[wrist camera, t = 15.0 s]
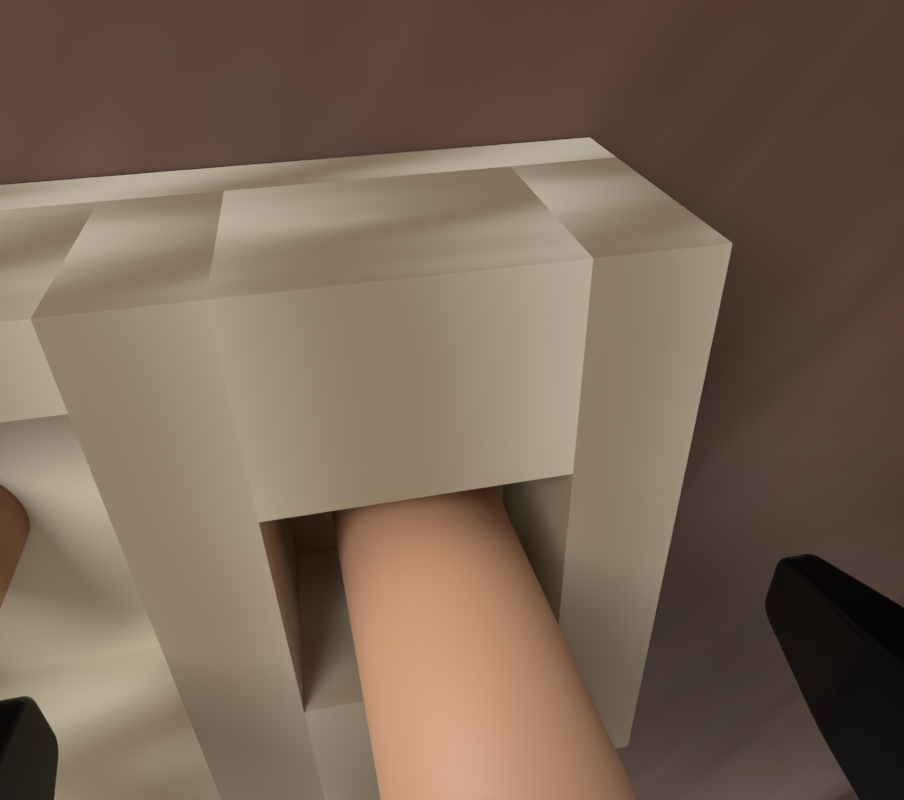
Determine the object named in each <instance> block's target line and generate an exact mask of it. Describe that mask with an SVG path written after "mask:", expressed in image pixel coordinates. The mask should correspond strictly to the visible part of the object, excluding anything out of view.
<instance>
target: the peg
mask: <svg viewBox="0 0 904 800" xmlns="http://www.w3.org/2000/svg"><path fill="white" fill-rule="evenodd" d="M331 513H332V518H333V524H334V530H335V536H336V542H337V548H338V553H339V559H340V565H341V571H342V577H343V583H344V588H345V594H346V600H347V606H348V612H349V618H350V623H351V629H352V635H353V641H354V647H355V653H356V658H357V664H358V670H359V676H360V682H361V688H362V693H363V699H364V705H365V711H366V717H367V723H368V728H369V734H370V740H371V746H372V752H373V758H374V763H375V769H376V775H377V781H378V787H379V793H380V798H381V800H639V799H638V797H637V795H636V793H635V790H634V788H633V786H632V784H631V782H630V780H629V777H628V775H627V773H626V771H625V769H624V767H623V764H622V762H621V760H620V758H619V756H618V754H617V751H616V749H615V747H614V745H613V743H612V740H611V738H610V736H609V734H608V732H607V730H606V727H605V725H604V723H603V721H602V719H601V717H600V714H599V712H598V710H597V708H596V706H595V704H594V701H593V699H592V697H591V695H590V693H589V691H588V688H587V686H586V684H585V682H584V680H583V677H582V675H581V673H580V671H579V669H578V667H577V664H576V662H575V660H574V658H573V656H572V654H571V651H570V649H569V647H568V645H567V643H566V641H565V638H564V636H563V634H562V632H561V630H560V627H559V625H558V623H557V621H556V619H555V617H554V614H553V612H552V610H551V608H550V606H549V604H548V601H547V599H546V597H545V595H544V593H543V591H542V588H541V586H540V584H539V582H538V580H537V578H536V575H535V573H534V571H533V569H532V567H531V564H530V562H529V560H528V558H527V556H526V554H525V551H524V549H523V547H522V545H521V543H520V541H519V538H518V536H517V534H516V532H515V530H514V528H513V525H512V523H511V521H510V519H509V517H508V514H507V512H506V510H505V508H504V506H503V504H502V501H501V499H500V497H499V495H498V493H497V491H496V488H495V486H491V487H485V488H478V489H472V490H465V491H459V492H452V493H446V494H439V495H433V496H426V497H420V498H413V499H407V500H400V501H394V502H387V503H381V504H375V505H368V506H362V507H355V508H349V509H342V510H336V511H331Z"/></svg>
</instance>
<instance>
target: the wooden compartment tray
mask: <svg viewBox="0 0 904 800" xmlns="http://www.w3.org/2000/svg"><path fill="white" fill-rule="evenodd" d="M732 244H733V243H732V242H730V241H729V240H728V239H726V238H725V237H723V236H722V235H721V234H719V233H718V232H717V231H715V230H714V229H713V228H711V227H710V226H709V225H707V224H706V223H705V222H703V221H702V220H700V219H699V218H698V217H696V216H695V215H694V214H692V213H691V212H690V211H688V210H687V209H686V208H684V207H683V206H682V205H680V204H679V203H678V202H676V201H675V200H673V199H672V198H671V197H669V196H668V195H667V194H665V193H664V192H663V191H661V190H660V189H659V188H657V187H656V186H655V185H653V184H652V183H651V182H649V181H648V180H646V179H645V178H644V177H642V176H641V175H640V174H638V173H637V172H636V171H634V170H633V169H632V168H630V167H629V166H628V165H626V164H625V163H624V162H622V161H621V160H619V159H618V158H617V157H615V156H614V155H613V154H611V153H610V152H609V151H607V150H606V149H605V148H603V147H602V146H601V145H599V144H598V143H597V142H595V141H594V140H592V139H591V138H590V137H589V138H577V139H565V140H552V141H540V142H528V143H515V144H503V145H490V146H478V147H466V148H453V149H441V150H429V151H416V152H404V153H391V154H379V155H367V156H354V157H342V158H330V159H317V160H305V161H292V162H280V163H268V164H255V165H243V166H231V167H218V168H206V169H194V170H181V171H169V172H156V173H144V174H132V175H119V176H107V177H95V178H82V179H70V180H57V181H45V182H33V183H20V184H8V185H0V700H5V699H10V698H16V697H21V696H28V697H31V698H33V699H34V700H35V702H36V703H37V705H38V706H39V708H40V710H41V711H42V713H43V715H44V716H45V718H46V720H47V721H48V723H49V725H50V726H51V728H52V730H53V731H54V733H55V735H56V738H57V742H58V750H59V756H58V767H57V777H56V786H55V796H54V800H381V798H380V793H379V787H378V781H377V775H376V769H375V763H374V758H373V752H372V746H371V740H370V734H369V728H368V723H367V717H366V711H365V705H364V699H363V693H362V688H361V682H360V676H359V670H358V664H357V658H356V653H355V647H354V641H353V635H352V629H351V623H350V618H349V612H348V606H347V600H346V594H345V588H344V583H343V577H342V571H341V565H340V559H339V553H338V548H337V542H336V536H335V530H334V524H333V518H332V513H331V511H336V510H342V509H349V508H355V507H362V506H368V505H375V504H381V503H387V502H394V501H400V500H407V499H413V498H420V497H426V496H433V495H439V494H446V493H452V492H459V491H465V490H472V489H478V488H485V487H491V486H495V488H496V491H497V493H498V495H499V497H500V499H501V501H502V504H503V506H504V508H505V510H506V512H507V514H508V517H509V519H510V521H511V523H512V525H513V528H514V530H515V532H516V534H517V536H518V538H519V541H520V543H521V545H522V547H523V549H524V551H525V554H526V556H527V558H528V560H529V562H530V564H531V567H532V569H533V571H534V573H535V575H536V578H537V580H538V582H539V584H540V586H541V588H542V591H543V593H544V595H545V597H546V599H547V601H548V604H549V606H550V608H551V610H552V612H553V614H554V617H555V619H556V621H557V623H558V625H559V627H560V630H561V632H562V634H563V636H564V638H565V641H566V643H567V645H568V647H569V649H570V651H571V654H572V656H573V658H574V660H575V662H576V664H577V667H578V669H579V671H580V673H581V675H582V677H583V680H584V682H585V684H586V686H587V688H588V691H589V693H590V695H591V697H592V699H593V701H594V704H595V706H596V708H597V710H598V712H599V714H600V717H601V719H602V721H603V723H604V725H605V727H606V730H607V732H608V734H609V736H610V738H611V740H612V743H613V745H614V747H615V749H617V748H621V747H626V746H628V743H629V738H630V733H631V729H632V724H633V719H634V714H635V709H636V705H637V700H638V695H639V690H640V685H641V681H642V676H643V671H644V666H645V661H646V657H647V652H648V647H649V642H650V637H651V633H652V628H653V623H654V618H655V614H656V609H657V604H658V599H659V594H660V590H661V585H662V580H663V575H664V570H665V566H666V561H667V556H668V551H669V546H670V542H671V537H672V532H673V527H674V522H675V518H676V513H677V508H678V503H679V498H680V494H681V489H682V484H683V479H684V474H685V470H686V465H687V460H688V455H689V450H690V446H691V441H692V436H693V431H694V426H695V422H696V417H697V412H698V407H699V402H700V398H701V393H702V388H703V383H704V379H705V374H706V369H707V364H708V359H709V355H710V350H711V345H712V340H713V335H714V331H715V326H716V321H717V316H718V311H719V307H720V302H721V297H722V292H723V287H724V283H725V278H726V273H727V268H728V263H729V259H730V254H731V249H732Z"/></svg>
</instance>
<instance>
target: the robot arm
mask: <svg viewBox="0 0 904 800" xmlns="http://www.w3.org/2000/svg"><path fill="white" fill-rule="evenodd" d="M765 607H766V613H767V617H768V619H769V622H770V624H771V626H772V628H773V630H774V633H775V635H776V637H777V639H778V641H779V644H780V646H781V648H782V650H783V652H784V655H785V657H786V659H787V661H788V663H789V666H790V668H791V670H792V672H793V674H794V677H795V679H796V681H797V683H798V685H799V688H800V690H801V692H802V694H803V696H804V699H805V701H806V703H807V705H808V707H809V710H810V712H811V714H812V716H813V718H814V720H815V722H816V724H817V726H818V728H819V730H820V732H821V734H822V735H823V737H824V739H825V741H826V743H827V744H828V746H829V748H830V750H831V752H832V753H833V755H834V757H835V758H836V760H837V762H838V764H839V765H840V767H841V769H842V771H843V772H844V774H845V776H846V777H847V779H848V781H849V783H850V784H851V786H852V788H853V790H854V791H855V793H856V795H857V796H858V798H859V800H904V607H902V606H901V605H899V604H897V603H895V602H894V601H892V600H890V599H889V598H887V597H885V596H884V595H882V594H880V593H879V592H877V591H875V590H874V589H872V588H870V587H869V586H867V585H865V584H863V583H862V582H860V581H858V580H857V579H855V578H853V577H852V576H850V575H848V574H847V573H845V572H843V571H842V570H840V569H838V568H837V567H835V566H833V565H832V564H830V563H828V562H826V561H825V560H823V559H821V558H820V557H818V556H815V555H812V554H803V555H798V556H792V557H786V558H783V559H782V560H780V561H779V562H778V564H777V566H776V569H775V572H774V575H773V578H772V581H771V584H770V587H769V590H768V593H767V596H766V601H765ZM58 756H59V750H58V742H57V738H56V735H55V733H54V731H53V730H52V728H51V726H50V725H49V723H48V721H47V720H46V718H45V716H44V715H43V713H42V711H41V710H40V708H39V706H38V705H37V703H36V702H35V700H34V699H33V698H31V697H28V696H21V697H16V698H10V699H5V700H0V800H54V796H55V786H56V777H57V767H58Z"/></svg>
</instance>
